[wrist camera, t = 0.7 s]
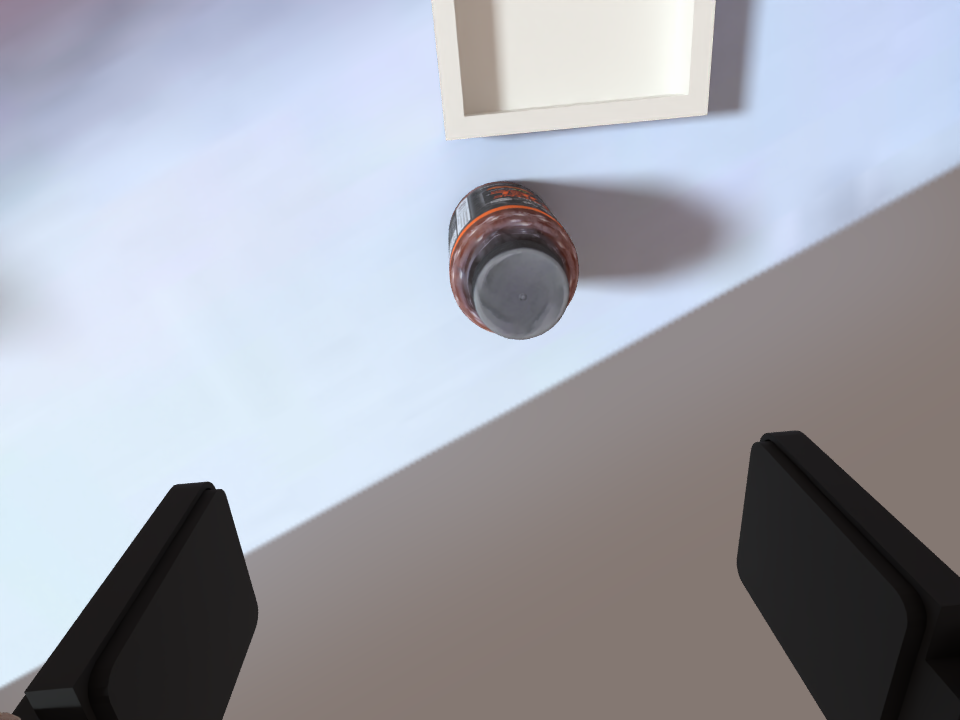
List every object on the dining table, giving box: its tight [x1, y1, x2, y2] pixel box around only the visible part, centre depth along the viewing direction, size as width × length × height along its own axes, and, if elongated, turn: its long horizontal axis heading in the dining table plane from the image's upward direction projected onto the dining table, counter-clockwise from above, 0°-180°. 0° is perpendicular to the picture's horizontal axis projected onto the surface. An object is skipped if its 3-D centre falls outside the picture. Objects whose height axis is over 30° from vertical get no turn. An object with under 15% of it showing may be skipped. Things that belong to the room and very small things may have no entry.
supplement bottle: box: [449, 182, 579, 340], centre depth 29 cm, size 6×6×11 cm
